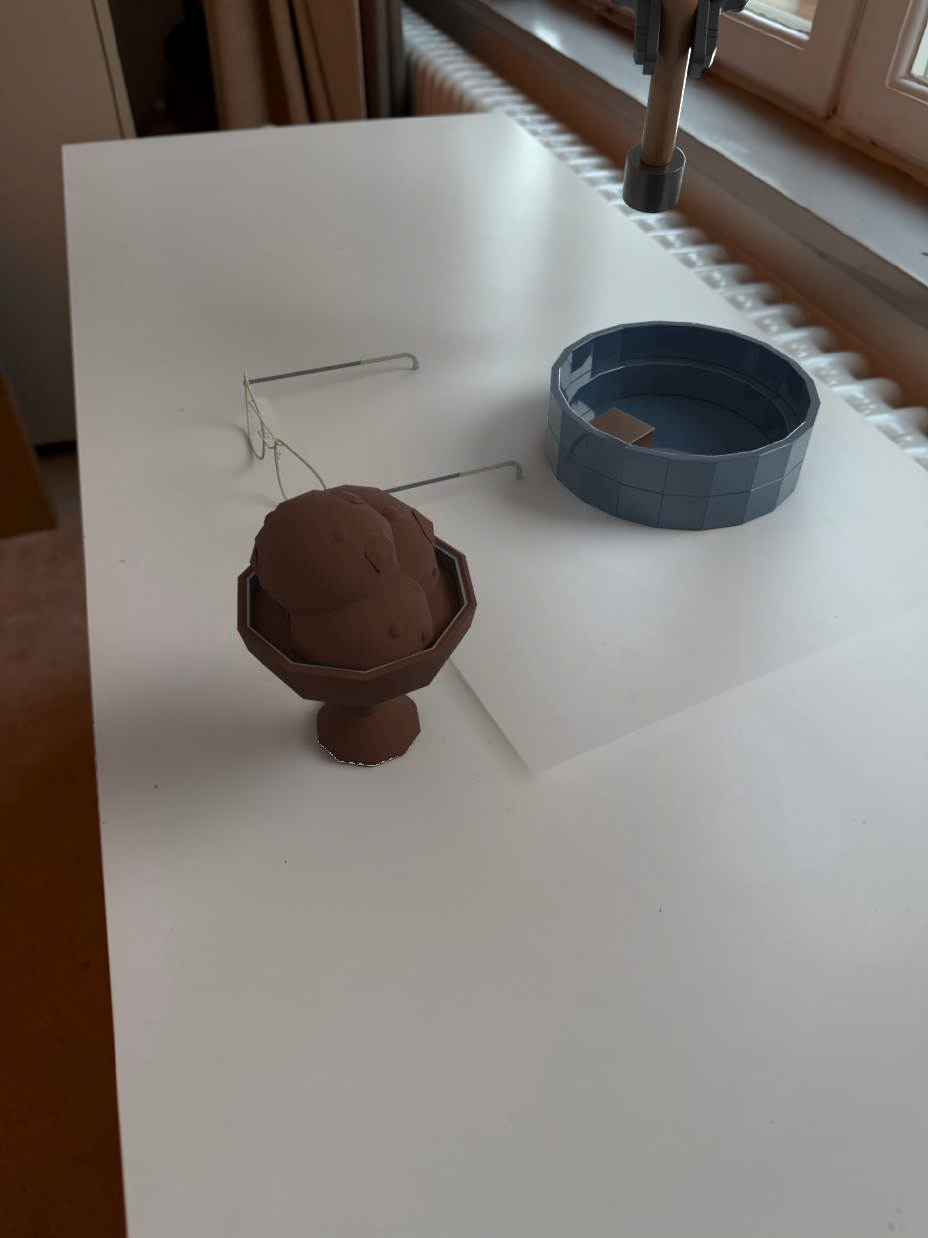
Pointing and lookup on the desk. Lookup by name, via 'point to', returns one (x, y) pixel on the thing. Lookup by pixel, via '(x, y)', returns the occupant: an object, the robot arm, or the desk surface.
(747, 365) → the bowl
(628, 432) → the block
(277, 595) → the ice cream bowl
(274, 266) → the desk surface
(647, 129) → the pestle
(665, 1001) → the desk surface
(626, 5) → the robot arm
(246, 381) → the eyeglasses
